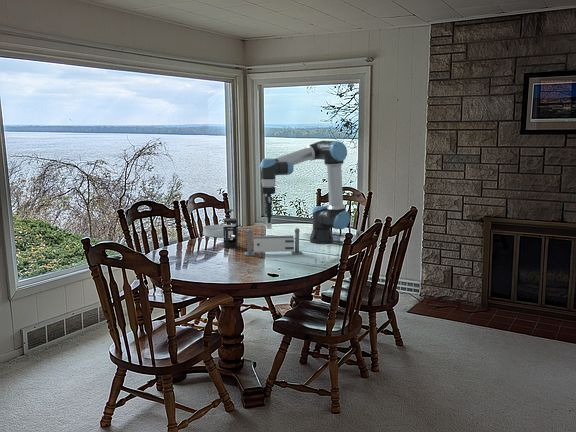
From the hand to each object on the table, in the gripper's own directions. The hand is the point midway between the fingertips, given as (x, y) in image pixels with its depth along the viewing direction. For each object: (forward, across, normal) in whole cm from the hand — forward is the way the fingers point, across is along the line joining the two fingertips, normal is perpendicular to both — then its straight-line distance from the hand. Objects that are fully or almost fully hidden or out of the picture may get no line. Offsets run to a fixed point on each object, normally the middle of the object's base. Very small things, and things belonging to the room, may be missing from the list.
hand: (268, 227), depth 300 cm
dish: (+18, -69, -29) cm, 77 cm away
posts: (+17, -7, +3) cm, 19 cm away
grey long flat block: (+16, -7, +4) cm, 17 cm away
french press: (+17, -29, -21) cm, 40 cm away
